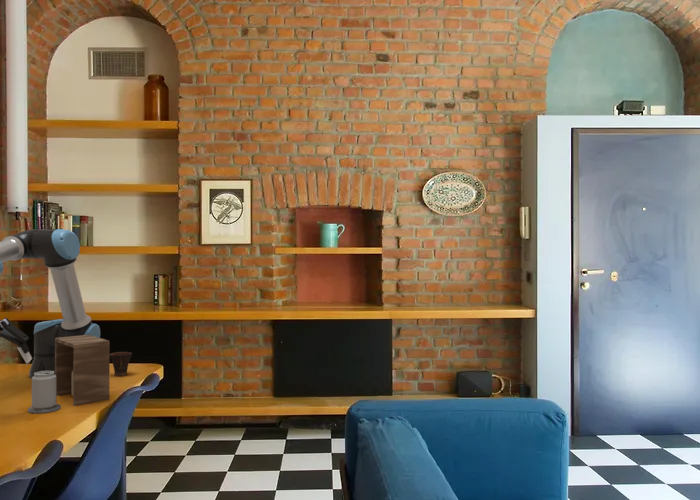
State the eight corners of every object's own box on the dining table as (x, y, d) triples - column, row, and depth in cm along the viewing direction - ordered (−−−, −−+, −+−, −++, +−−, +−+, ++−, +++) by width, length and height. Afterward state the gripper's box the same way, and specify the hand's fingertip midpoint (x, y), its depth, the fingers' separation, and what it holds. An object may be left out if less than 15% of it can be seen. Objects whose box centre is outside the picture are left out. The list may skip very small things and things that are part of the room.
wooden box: (54, 395, 222) (55, 338, 222) (88, 390, 231) (88, 334, 231) (74, 405, 209) (74, 344, 208) (109, 399, 217) (109, 340, 217)
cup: (101, 374, 254) (105, 351, 255) (118, 373, 262) (122, 350, 262) (116, 378, 250) (119, 353, 250) (133, 376, 257) (136, 353, 258)
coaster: (23, 409, 204) (23, 407, 204) (54, 403, 211) (54, 401, 211) (33, 415, 197) (33, 413, 197) (65, 409, 204) (65, 407, 204)
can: (61, 405, 207) (61, 370, 207) (44, 411, 200) (44, 375, 199) (44, 403, 209) (44, 369, 209) (26, 409, 202) (26, 373, 202)
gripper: (-64, 327, 191) (-29, 380, 199) (7, 308, 189) (39, 363, 196) (-49, 315, 198) (-16, 367, 206) (19, 297, 195) (50, 350, 203)
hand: (11, 365), depth 201 cm, fingers open, 13 cm apart
